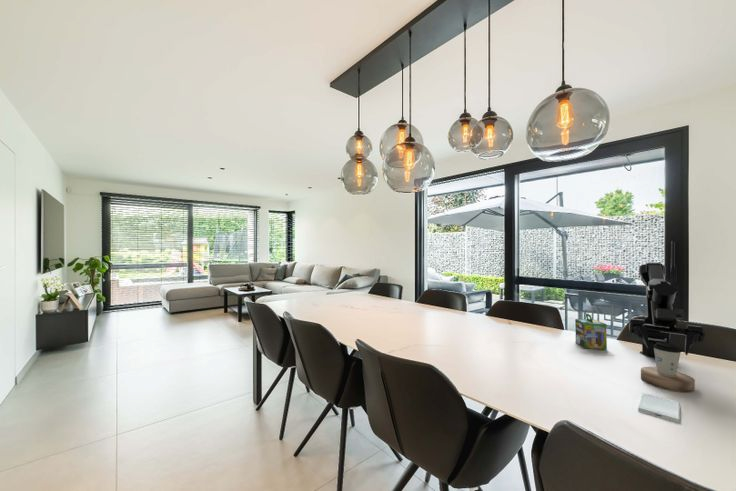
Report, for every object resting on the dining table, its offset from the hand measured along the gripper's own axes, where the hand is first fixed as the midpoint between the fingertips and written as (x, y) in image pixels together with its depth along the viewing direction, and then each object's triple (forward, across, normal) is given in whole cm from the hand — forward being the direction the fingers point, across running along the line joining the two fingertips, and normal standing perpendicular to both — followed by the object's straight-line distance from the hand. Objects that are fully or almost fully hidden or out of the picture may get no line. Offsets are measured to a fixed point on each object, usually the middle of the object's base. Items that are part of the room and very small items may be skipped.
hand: (667, 351), depth 103 cm
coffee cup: (+5, 0, +6) cm, 8 cm away
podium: (+7, 0, +8) cm, 11 cm away
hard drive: (+24, -4, -8) cm, 26 cm away
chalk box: (-15, -22, +31) cm, 40 cm away
